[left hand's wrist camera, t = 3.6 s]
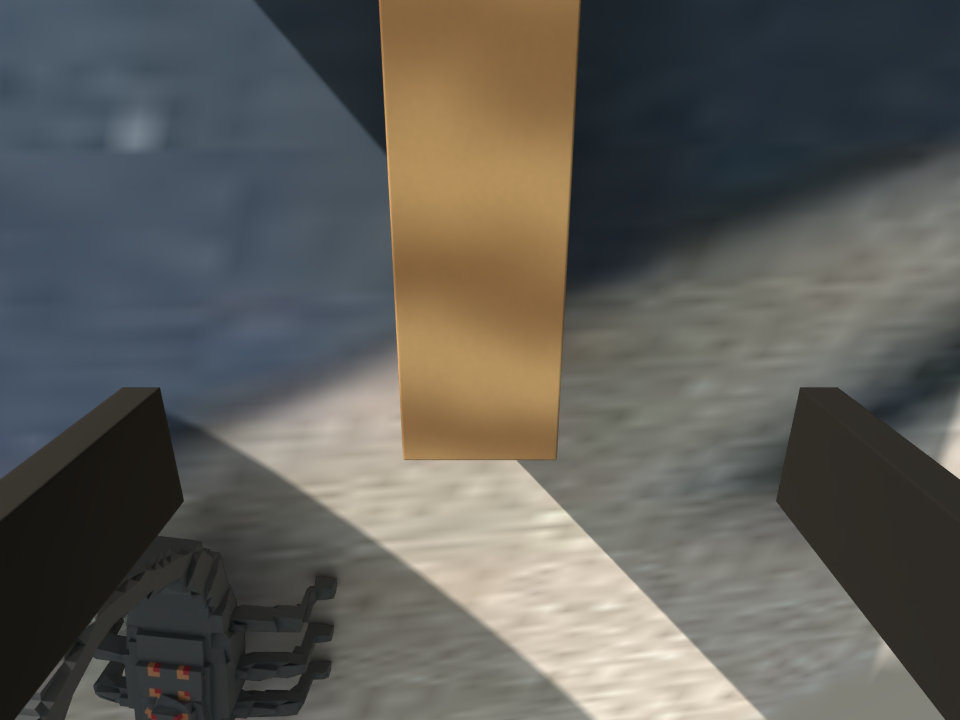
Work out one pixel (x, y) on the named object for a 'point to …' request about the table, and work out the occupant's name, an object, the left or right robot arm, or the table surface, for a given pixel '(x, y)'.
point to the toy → (186, 644)
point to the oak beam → (479, 219)
